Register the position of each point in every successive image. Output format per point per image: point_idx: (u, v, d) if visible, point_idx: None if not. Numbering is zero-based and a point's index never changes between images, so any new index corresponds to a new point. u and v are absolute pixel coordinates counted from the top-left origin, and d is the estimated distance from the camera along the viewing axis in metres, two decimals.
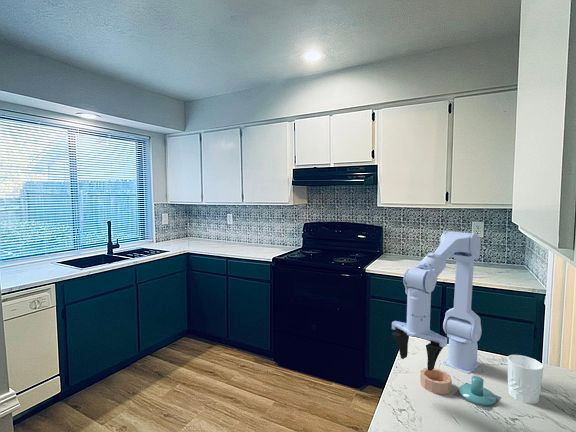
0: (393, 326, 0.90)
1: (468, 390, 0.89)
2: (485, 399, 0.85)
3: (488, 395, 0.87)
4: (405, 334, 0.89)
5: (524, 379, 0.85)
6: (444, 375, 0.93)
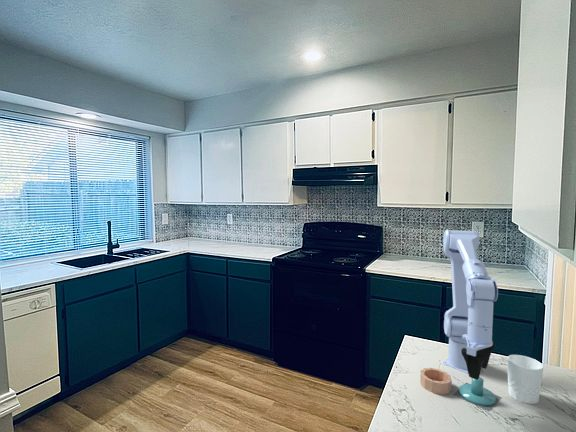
0: None
1: (468, 390, 0.89)
2: (485, 399, 0.85)
3: (488, 395, 0.87)
4: None
5: (524, 379, 0.85)
6: (444, 375, 0.93)
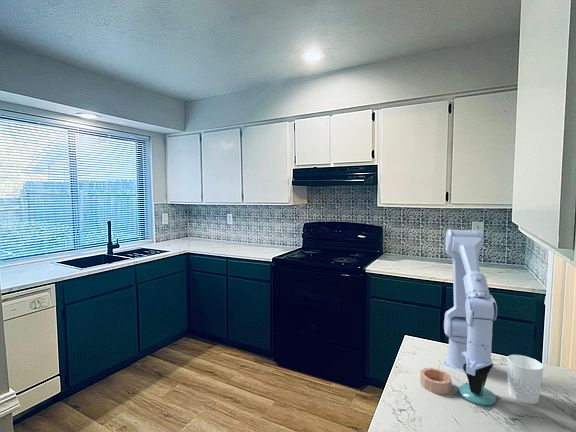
0: None
1: (468, 390, 0.89)
2: (485, 399, 0.85)
3: (488, 395, 0.87)
4: None
5: (524, 379, 0.85)
6: (444, 375, 0.93)
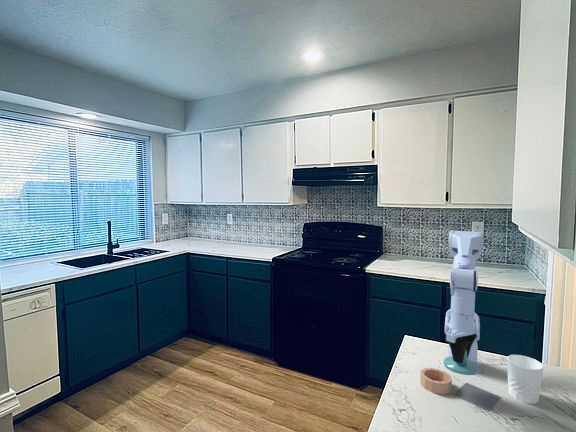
0: None
1: (453, 361, 0.91)
2: (467, 369, 0.86)
3: (472, 366, 0.88)
4: (464, 335, 0.90)
5: (524, 379, 0.85)
6: (444, 375, 0.93)
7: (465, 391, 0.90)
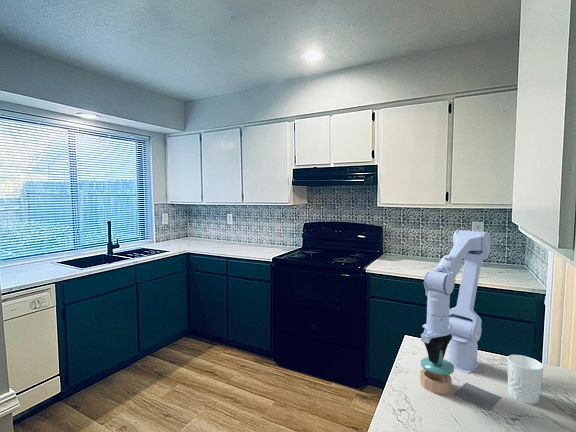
0: None
1: (429, 362, 0.93)
2: (443, 369, 0.89)
3: (447, 366, 0.91)
4: (440, 336, 0.93)
5: (524, 379, 0.85)
6: (444, 375, 0.93)
7: (465, 391, 0.90)
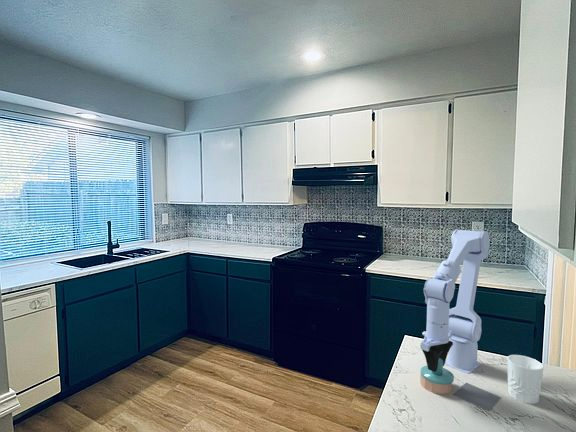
0: None
1: (429, 370, 0.94)
2: (442, 378, 0.89)
3: (447, 375, 0.91)
4: (441, 343, 0.93)
5: (524, 379, 0.85)
6: None
7: (465, 391, 0.90)
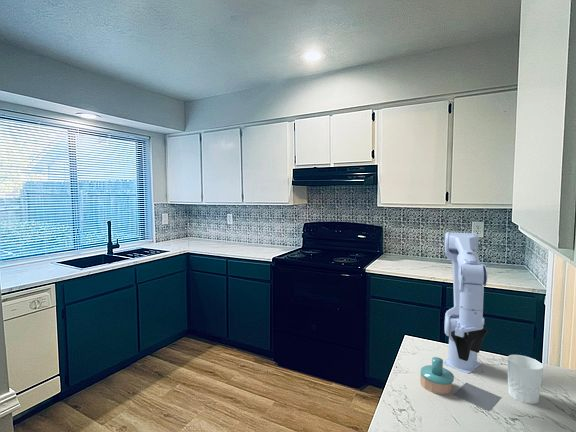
0: None
1: (429, 370, 0.94)
2: (442, 378, 0.89)
3: (447, 375, 0.91)
4: (476, 329, 0.92)
5: (524, 379, 0.85)
6: None
7: (465, 391, 0.90)
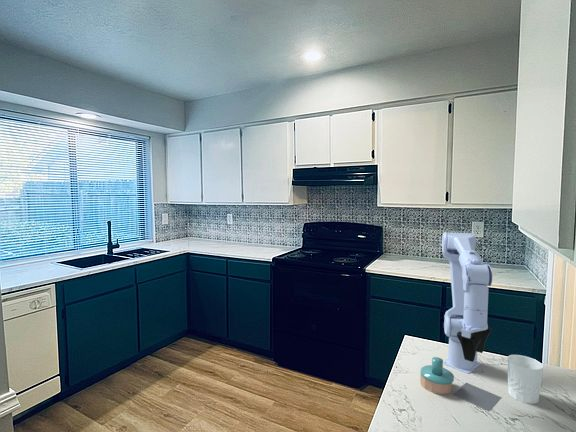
0: None
1: (429, 370, 0.94)
2: (442, 378, 0.89)
3: (447, 375, 0.91)
4: None
5: (524, 379, 0.85)
6: None
7: (465, 391, 0.90)
